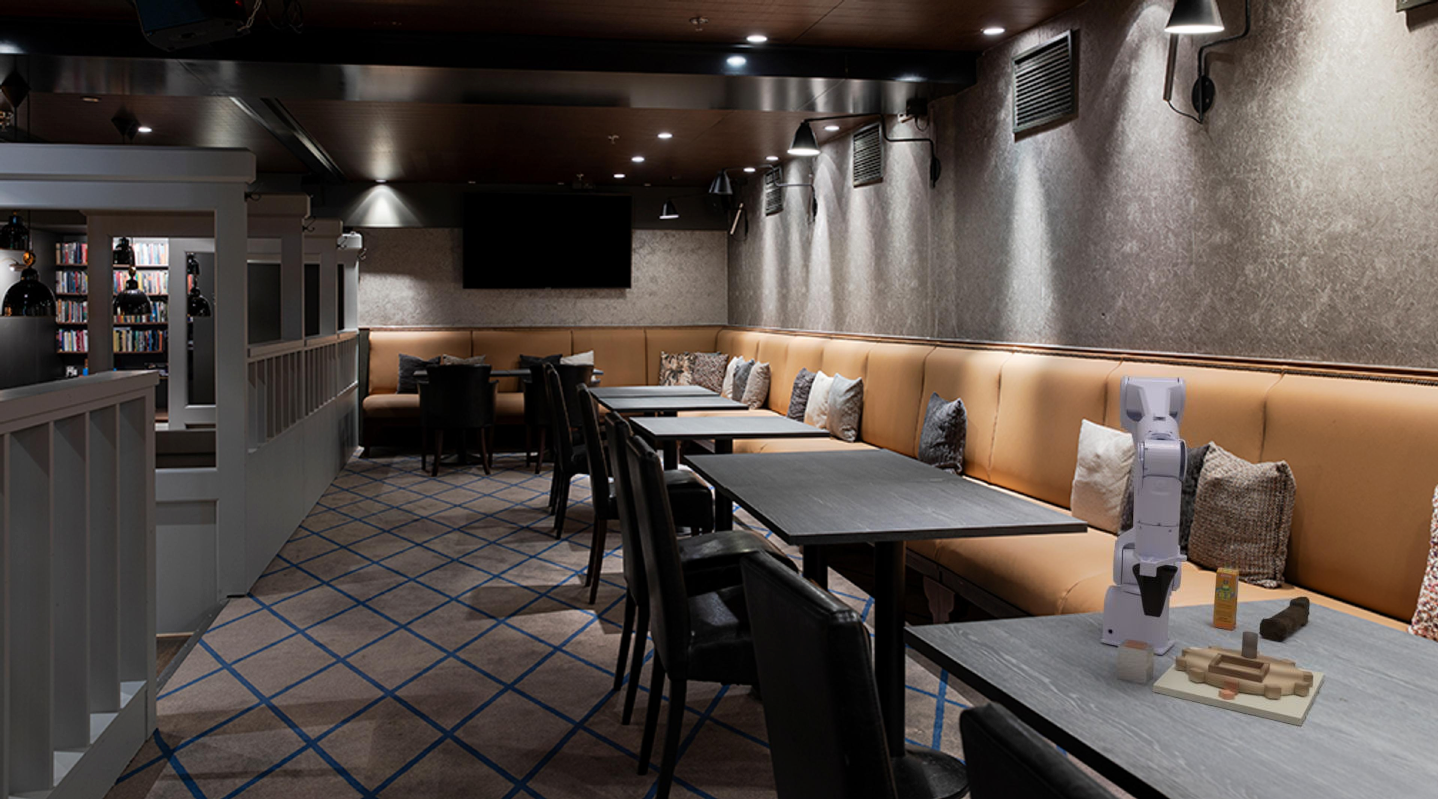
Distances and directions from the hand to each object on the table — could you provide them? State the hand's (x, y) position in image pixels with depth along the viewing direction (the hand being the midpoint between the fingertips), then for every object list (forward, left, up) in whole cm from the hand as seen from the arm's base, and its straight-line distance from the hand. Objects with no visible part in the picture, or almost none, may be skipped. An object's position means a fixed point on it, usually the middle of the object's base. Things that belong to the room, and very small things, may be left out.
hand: (1152, 615), depth 141 cm
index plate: (+11, +6, -9) cm, 15 cm away
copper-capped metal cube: (-2, -1, -9) cm, 10 cm away
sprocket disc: (+11, +7, -8) cm, 15 cm away
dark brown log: (+11, +42, -10) cm, 44 cm away
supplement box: (+3, +36, -10) cm, 37 cm away
